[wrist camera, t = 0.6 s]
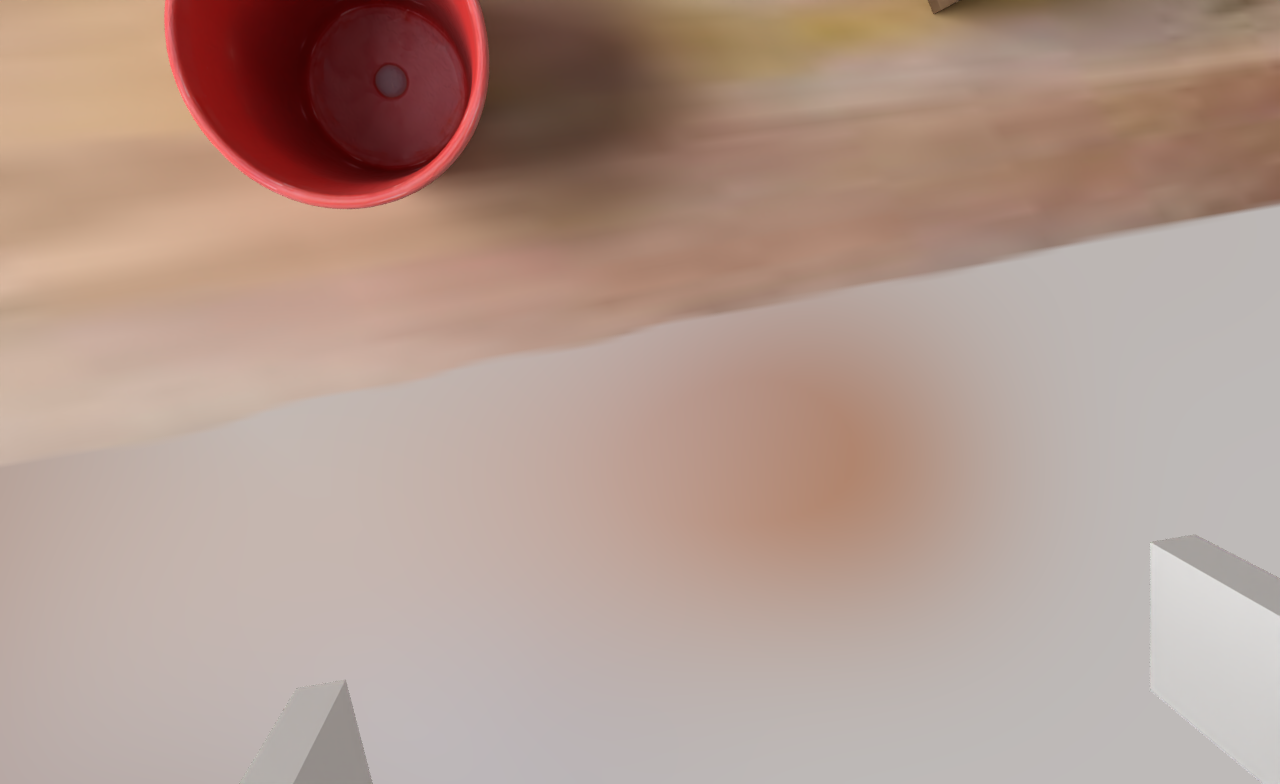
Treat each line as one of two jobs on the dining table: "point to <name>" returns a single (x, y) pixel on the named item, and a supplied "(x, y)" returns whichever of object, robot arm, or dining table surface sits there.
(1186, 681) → the robot arm
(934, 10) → the crate
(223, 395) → the dining table surface
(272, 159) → the flower pot
